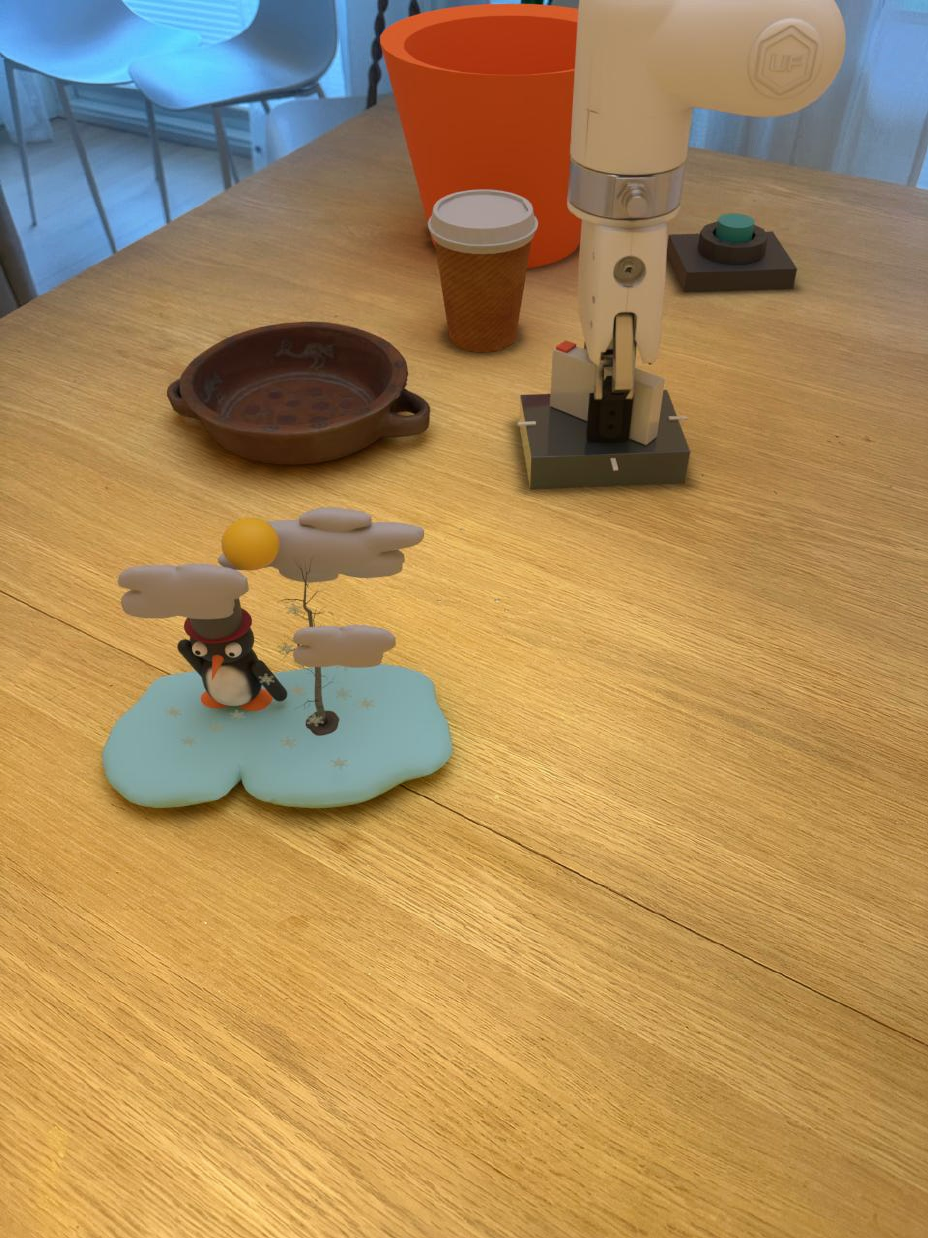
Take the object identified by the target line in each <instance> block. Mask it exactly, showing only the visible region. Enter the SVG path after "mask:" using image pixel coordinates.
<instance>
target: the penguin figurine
mask: <svg viewBox="0 0 928 1238" xmlns="http://www.w3.org/2000/svg"><path fill="white" fill-rule="evenodd" d="M372 521H373V520H372V515H371V514H370V513H367V512H364V511H361V510H356V509H350V508H344V507H343V508H342V507H337V506H336V507H335V506H325V507H318V508H313V509H310V510H308V511H306V512H304V513H302V514H301V515H300V516H299V517H298V519H279V520H269V521H265V520H263V519H261V518H256V517H244V518H239V519H237V520H235V521H234V522H232V523H231V524H230V525H229V526H228V527H227V528H226V529H225V531H224V532H223V534H222V536H221V550H222V554H220V555H219V556H218V557H217V562H218V564H219V565H216V564H212V563H211V564H210V563H184V564H179V565H170V564H150V565H138V566H137V565H136V566H135V565H134V566H129V567H128V568H126V569H124V570H122V571H121V572H120V573H119V575H118V578H117V584H118V586H119V587H120V588H121V589H126V590H127V591H126V592H124V593H123V594H122V595H121V598H120V605H121V608H122V611H123V613H125V614H126V615H128V616H130V617H133V618H139V619H158V620H159V619H161V620H162V619H170V618H173V617H183V618H185V621H184V623H183V629H184V632H185V633H186V635H187V636H188V637H189V639H186V638H183V639H181V640H179V641H178V643H177V645H176V649H177V651H178V653H179V654H180V655H181V656H182V657H183V658H184V659H185V660H186V662H187V663H188V664H189V665H190V666H191V667H192V668H193V670H191V671H184V672H177V673H172V674H171V673H170V674H167V675H164V676H159V678H156V679H154V680H153V681H152V682H151V683H150V685H149V686H148V687H147V689H146V690H145V691H144V693H143V694H142V695H141V697H140V698H139V699H138V701H137V702H136V703H134V705H132V706H131V707H130V708H129V709H127V710H126V711H125V712H124V713H123V714H122V715H121V716H120V717H119V718H118V719H117V721H116V722H115V723H114V725H113V726H112V728H111V729H110V732H109V734H108V738H107V740H106V741H105V744H104V745H103V748H102V753H101V758H102V759H101V760H102V762H101V763H102V767H103V769H104V774H105V778H106V780H107V782H108V783H109V785H110V786H111V787H112V788H113V789H114V790H115V791H117V793H118V794H119V795H120V796H121V797H122V798H124V799H126V800H127V801H128V802H130V803H132V804H134V805H138V806H141V807H148V808H153V809H168V808H169V809H170V808H179V807H180V808H181V807H186V806H193V805H199V804H205V803H209V802H214V801H217V800H220V799H222V798H223V797H225V796H227V795H228V793H230V791H231V790H232V789H233V788H235V787H236V785H238V783H240V782H242V785H243V787H244V790H245V791H246V792H247V793H248V794H250V796H252V797H253V798H255V799H257V800H258V801H262V802H265V803H270V804H273V805H277V806H282V807H291V808H306V809H328V808H341V807H346V806H352V805H357V804H361V803H365V802H368V801H370V800H372V799H374V798H377V797H379V796H381V795H383V794H385V793H387V792H388V791H390V790H391V789H394V788H395V787H396V786H399V785H401V784H403V783H404V782H407V781H412V780H416V779H419V778H424V777H427V776H430V775H432V774H434V773H435V772H437V771H439V770H440V769H442V767H444V766H445V765H446V764H447V762H448V760H450V758H451V757H452V755H453V752H454V751H453V750H454V749H453V748H454V747H453V741H452V736H451V730H450V724H449V721H448V720H447V717H446V715H445V714H444V712H443V710H442V709H441V707H440V705H439V703H438V700H437V699H438V698H437V694H436V688H435V684H434V681H433V680H432V679H431V678H430V677H429V676H428V675H426V674H424V673H422V672H420V671H418V670H414V669H411V668H408V667H403V666H400V665H391V664H387V663H382V660H383V658H384V653H387V652H389V651H390V650H392V649H394V648H395V647H396V646H397V640H396V639H397V638H396V636H395V635H394V633H392V632H391V631H389V630H388V629H385V628H383V627H378V626H372V625H367V624H349V625H342V626H335V625H322V624H323V623H324V622H322V624H320V625H318V626H316V625H315V624H316V623H315V617H316V615H320V614H323V613H324V611H322V610H323V609H325V608H326V606H323V607H322V608H321V609H320V610H319V612H317V609H318V608H316V609H315V611H314V612H313V611H312V610H311V609H310V608H308V607H307V604H308V603H309V602H310V601H311V600H312V599H313V598H314V597H315V596H316V595H317V594H318V593H320V592H322V591H325V590H327V588H326V589H322V590H317V591H315V593H314V594H313V595H312V596H311V598H310V599H309V600H308V601H307V588H308V589H310V590H311V591H313V589H312V588H310V587H309V584H310V583H325V582H329V581H330V582H331V581H335V580H337V579H338V577H339V575H343V576H346V577H351V578H355V579H356V578H357V579H375V578H376V579H377V578H386V577H387V578H388V577H392V576H395V575H398V574H401V572H402V571H403V566H404V563H405V562H406V558H405V557H406V556H405V554H404V553H403V552H402V551H401V550H403V549H409V548H412V547H415V546H417V545H419V544H420V543H422V542H423V540H424V537H425V529H424V528H423V527H422V526H417V525H413V524H409V523H404V522H396V521H375V522H372ZM270 567H272V568H274V569H276V570H278V572H279V575H280V576H282V577H283V578H286V579H289V580H291V581H295V582H299V583H304V589H303V599H298V598H288V597H286V596H285V595H283V596H284V598H285V599H281V600H279V601H278V603H280V602H283V601H286V602H285V604H286V603H287V604H288V603H289V601H290V603H291V606H284V608H285V609H287V611H285V612H286V613H285V614H286V615H287V614H288V615H289V614H292V615H294V617H297V616H300V618H301V619H303V620H307V621H308V626H307V627H303V628H300V629H297V631H295V633H294V634H293V637H292V638H290V637H288V636H286V635H284V634H282V636H283V637H285V638H287V639H289V640H290V641H292V642H293V643H294V644H296V645H297V646H296V647H295V648H294V644H291V645H288V643H287V642H286V641H284V642H283V645H277V648H280V650H279V653H281V654H280V655H278V657H279V656H281V655H284V654H285V656H288V655H289V654H290V652H292V657H293V661H294V663H295V664H296V665H299V666H300V667H299V669H290V670H285V671H277V672H272V670H271V669H270V668H269V667H268V666H267V664H266V663H265V662H264V661H263V660H261V659H259V657H258V655H257V653H256V651H254V649H253V647H254V645H255V634H254V632H253V629H252V628H251V627H252V624H253V618H252V616H251V614H250V613H249V612H248V611H247V610H246V609H244V608H242V605H241V601H240V597H242V596H244V595H245V594H247V593H249V590H250V587H249V583H248V582H249V581H248V578H247V577H246V576H245V575H244V574H242V573H241V572H240V571H251V572H252V571H259V570H262V569H266V568H270ZM319 585H320V584H318V585H317V587H318V586H319ZM296 601H300V602H302V605H300V606H298V607H297V605H296V603H294V602H296ZM301 609H303V610H304V612H303V611H302V610H301ZM316 612H317V613H316ZM303 613H304V614H303ZM305 613H307V618H305V615H306V614H305ZM329 613H331V615H332V616H334V615H335V612H334V613H333V612H332V611H329ZM301 614H303V615H301ZM338 616H340V617H341V615H340V614H338ZM284 658H285V657H283V659H284Z"/></svg>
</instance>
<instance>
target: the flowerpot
mask: <svg viewBox="0 0 928 1238" xmlns="http://www.w3.org/2000/svg"><path fill="white" fill-rule="evenodd" d="M577 22H578V8H575V7H569V6H563V5H562V6H561V5H552V4H551V5H550V4H538V3H484V4H471V5H460V6H452V7H446V8H440V9H434V10H430V11H424V12H421V13H417V14H414V15H411V16H408V17H405V18H402V19H400V20H398V21H395V22H394V23H392V24H390V25H389V26H387V27H386V28H385V29H384V30H383V31H382V33H381V34H380V36H379V37H380V38H379V44H380V48H381V51H382V56H383V60H384V64H385V67H386V71H387V74H388V78H389V81H390V87H391V90H392V93H393V97H394V101H395V104H396V109H397V113H398V116H399V119H400V123H401V127H402V132H403V135H404V139H405V144H406V147H407V150H408V154H409V158H410V162H411V166H412V169H413V173H414V177H415V180H416V181H415V182H416V185H417V189H418V192H419V196H420V200H421V204H422V208H423V211H424V215H425V219H426V223H427V224H428V221H429V219H430V217H431V216H432V212H433V207H434V205H435V204H436V202H437V201H439V200H440V199H441V198H443V197H445V196H448V195H450V194H453V193H457V192H462V191H468V190H499V191H505V192H510V193H513V194H516V195H519V196H521V197H523V198H525V199H527V200H528V201H529V202H530V203H531V204H532V207H533V212H534V216H535V217H536V219H537V221H538V227H537V230H536V231H535V233H534V237H533V238H532V240H531V246H530V253H529V259H528V266H527V269H533V268H538V267H542V266H546V265H547V266H548V265H550V264H554V263H557V262H559V261H561V260H563V259H565V258H567V257H569V256H570V255H572V253H574V252H575V251H576V250H577V248H578V247H579V246H580V239H581V227H582V219H580V218H578V217H576V216H575V215H574V214H572V213H571V212H570V211H569V209H568V207H567V198H568V178H569V161H570V144H571V127H572V110H573V92H574V75H575V57H576V40H577ZM429 233H430V238H431V242H432V244H433V247H435V241H434V239H433V237H432V235H431V232H430V231H429Z"/></svg>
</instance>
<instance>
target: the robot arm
mask: <svg viewBox="0 0 928 1238" xmlns="http://www.w3.org/2000/svg"><path fill="white" fill-rule="evenodd" d="M577 9H578V22H577V40H576V57H575V75H574V92H573V110H572V127H571V144H570V161H569V178H568V198H567V207H568V209H569V211H570V212H571V213H572V214H574V215H575V216H576V217H578V218H580V219H582V227H581V239H580V243H579V255H578V271H577V273H578V274H577V309H578V315H579V322H580V326H581V330H582V335H583V339H584V343H583V349H586V350H587V352H588V356H589V359H590V360H591V361H592V362H593V363H594V364H595V377H594V393H589V405H588V418H587V430H586V437H587V441H588V442H590V443H601V442H625V441H627V440H628V439H629V433H630V425H631V416H632V407H633V399H634V394H633V393H634V378H635V368H636V363H637V362H636V361H637V348H638V352H639V355H640V358H641V361H642V364H648V365H649V366H653V365H655V364H656V363H657V361H658V360H659V357H660V347H661V338H662V325H663V313H664V303H665V290H666V289H665V288H666V276H667V274H666V273H667V258H668V257H667V244H668V225H667V223H668V222H669V221H671V220H673V219H674V218H676V217H677V216H678V214H679V213H680V210H681V203H682V196H683V189H684V181H685V173H686V165H687V157H688V151H689V144H690V143H689V141H690V135H691V128H692V119H693V113H694V112H693V111H694V108H697V109H704V110H709V111H710V110H711V111H716V112H721V113H727V114H732V115H739V116H743V117H744V116H746V117H752V118H753V117H754V118H775V117H782V116H787V115H790V114H793V113H797V112H798V111H800V110H802V109H805V108H806V107H808V106H810V105H812V104H813V103H814V102H815V101H816V100H818V99H819V98H820V97H821V96H823V94H824V93H825V92H826V91H827V90H828V89H829V87H830V86H831V85H832V84H833V82H834V81H835V79H836V77H837V75H838V73H839V72H840V69H841V66H842V63H843V61H844V57H845V52H846V45H847V44H846V42H847V34H846V27H845V22H844V17H843V14H842V13H841V10H840V8H839V6H838V4H837V2H836V1H835V0H578V7H577ZM604 367H613V373H612V375H611V376H606V378H605V380H604Z"/></svg>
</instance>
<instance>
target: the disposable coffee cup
mask: <svg viewBox="0 0 928 1238" xmlns="http://www.w3.org/2000/svg"><path fill="white" fill-rule="evenodd" d="M427 227H428V231H429V233H430V232H431V234H430V236H431V235H432V237H433V239H434V241H435V246H434V248H435V253H436V260H437V267H438V273H439V280H440V286H441V293H442V299H443V300H442V301H443V306H444V313H445V318H446V325H447V331H448V338H449V340H450V342H451V343H452V344H453V345H454V346H455V347H457V348H459V349H460V350H464V351H468V352H472V353H473V352H474V353H492V352H498V351H501V350H504V349H507V348H509V347H510V346H511V345H513V344H514V343H515V342H516V339H517V333H518V328H519V321H520V314H521V308H522V303H523V295H524V290H525V283H526V277H527V272H528V268H527V266H528V259H529V253H530V246H531V240H532V238H533V237H534V233H535V231H536V230H537V227H538V221H537V219H536V217H535V216H534V212H533V207H532V204H531V203H530V202H529V201H528V200H527V199H525V198H523V197H521V196H519V195H516V194H513V193H510V192H505V191H499V190H468V191H462V192H457V193H453V194H450V195H448V196H445V197H443V198H441V199H440V200H439V201H437V202H436V204H435V205H434V207H433V212H432V216H431V217H430V219H429V221H428V223H427Z"/></svg>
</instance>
